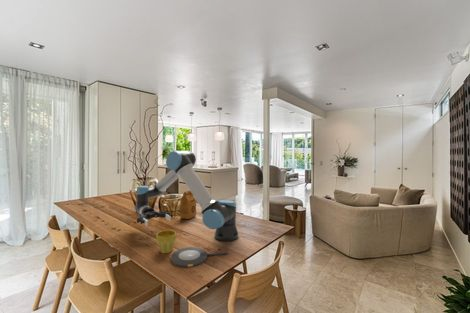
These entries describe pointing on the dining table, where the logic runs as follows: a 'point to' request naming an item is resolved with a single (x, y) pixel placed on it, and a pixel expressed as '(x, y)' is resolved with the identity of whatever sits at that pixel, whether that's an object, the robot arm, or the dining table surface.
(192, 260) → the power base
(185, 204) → the coffee package
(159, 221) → the dining table surface
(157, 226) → the dining table surface
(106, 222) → the dining table surface
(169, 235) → the plant pot
